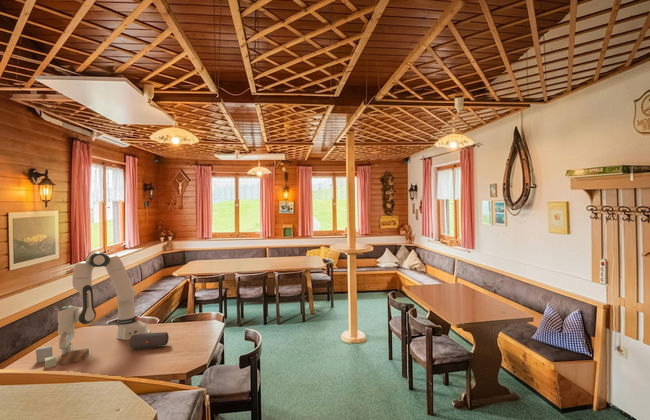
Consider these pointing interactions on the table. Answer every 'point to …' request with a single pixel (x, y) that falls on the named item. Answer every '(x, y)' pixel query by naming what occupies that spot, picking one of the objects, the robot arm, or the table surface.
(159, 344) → the bluetooth speaker
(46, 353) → the medicine box
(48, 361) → the sage painted cube
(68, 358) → the walnut block
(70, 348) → the cream painted cube
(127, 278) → the robot arm
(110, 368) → the table surface
